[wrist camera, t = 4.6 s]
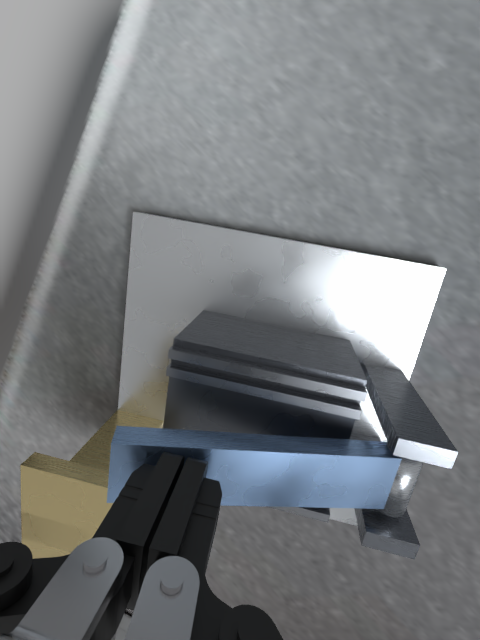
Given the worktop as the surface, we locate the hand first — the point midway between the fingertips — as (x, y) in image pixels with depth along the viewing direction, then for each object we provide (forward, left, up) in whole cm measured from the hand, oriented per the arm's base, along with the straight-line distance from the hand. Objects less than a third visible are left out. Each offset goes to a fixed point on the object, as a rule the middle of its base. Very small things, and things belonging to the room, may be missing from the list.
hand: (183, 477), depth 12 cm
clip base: (-1, 0, -10) cm, 10 cm away
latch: (+4, +4, -9) cm, 11 cm away
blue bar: (-3, 0, -2) cm, 4 cm away
